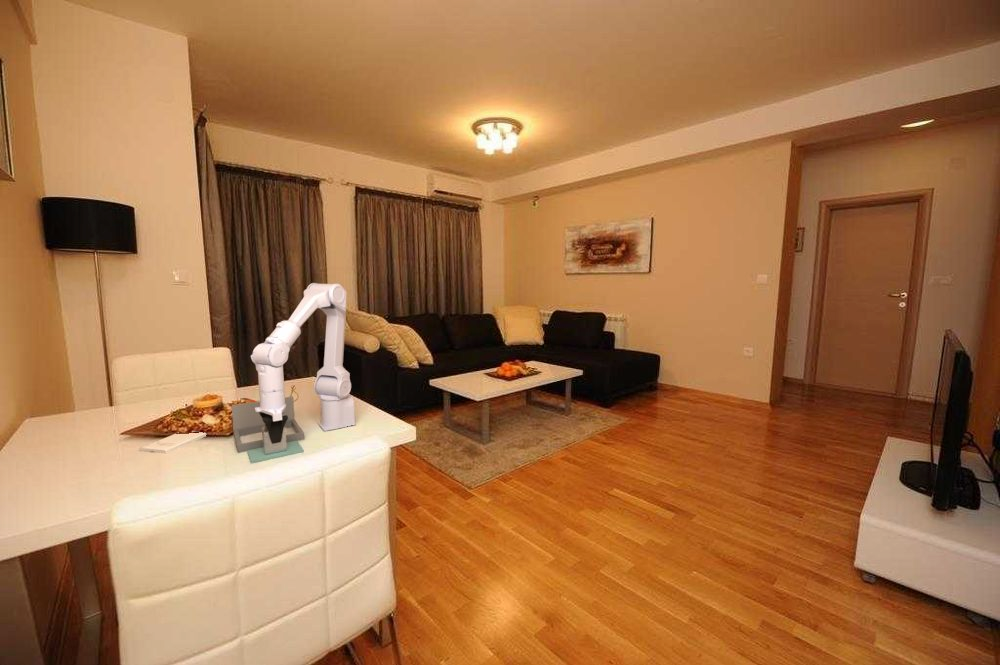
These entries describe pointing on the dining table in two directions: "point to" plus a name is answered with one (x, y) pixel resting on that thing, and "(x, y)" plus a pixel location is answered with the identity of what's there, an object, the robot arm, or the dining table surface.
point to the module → (275, 447)
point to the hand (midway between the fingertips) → (274, 439)
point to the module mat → (259, 454)
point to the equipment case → (260, 424)
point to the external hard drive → (172, 442)
